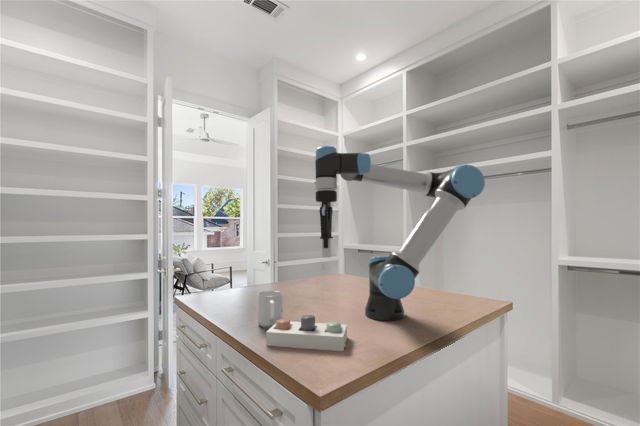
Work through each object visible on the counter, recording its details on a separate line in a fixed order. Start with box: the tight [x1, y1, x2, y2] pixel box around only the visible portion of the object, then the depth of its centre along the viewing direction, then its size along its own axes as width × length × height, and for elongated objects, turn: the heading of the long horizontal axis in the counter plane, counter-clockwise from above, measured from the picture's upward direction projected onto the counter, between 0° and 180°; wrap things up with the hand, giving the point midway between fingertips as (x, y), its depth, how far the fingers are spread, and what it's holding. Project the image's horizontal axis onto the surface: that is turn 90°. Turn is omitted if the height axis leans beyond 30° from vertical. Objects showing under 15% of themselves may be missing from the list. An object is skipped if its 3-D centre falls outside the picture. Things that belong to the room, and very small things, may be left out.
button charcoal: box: [300, 314, 316, 332], centre depth 95 cm, size 4×4×4 cm
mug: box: [257, 290, 284, 329], centre depth 110 cm, size 12×9×11 cm
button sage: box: [326, 321, 342, 333], centre depth 94 cm, size 4×4×4 cm
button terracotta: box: [276, 318, 291, 330], centre depth 97 cm, size 4×4×4 cm
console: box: [265, 320, 348, 352], centre depth 95 cm, size 23×11×4 cm, turn 79°
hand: (326, 257), depth 109 cm, fingers closed
